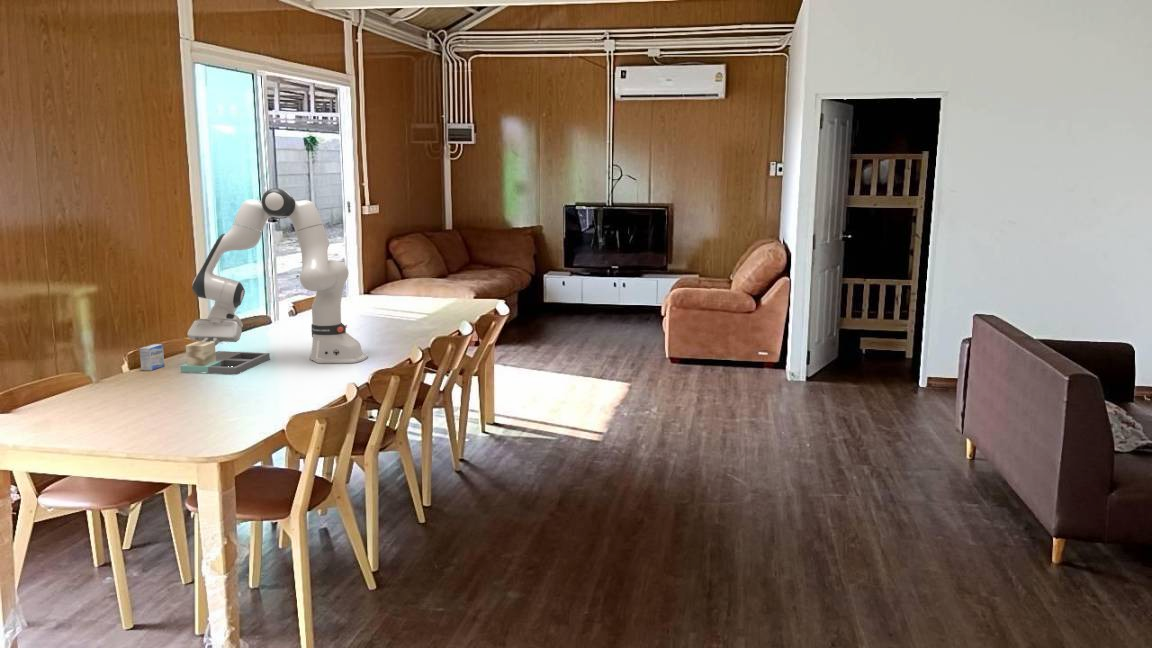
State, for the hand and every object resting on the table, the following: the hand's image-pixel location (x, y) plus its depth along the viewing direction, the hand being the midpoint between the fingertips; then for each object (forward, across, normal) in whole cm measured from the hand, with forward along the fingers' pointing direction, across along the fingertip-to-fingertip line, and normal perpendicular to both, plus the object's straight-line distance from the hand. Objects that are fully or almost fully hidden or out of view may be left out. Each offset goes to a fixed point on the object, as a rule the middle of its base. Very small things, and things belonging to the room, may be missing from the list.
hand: (207, 349), depth 339 cm
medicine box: (+9, -19, +1) cm, 22 cm away
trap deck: (+3, +6, +7) cm, 9 cm away
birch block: (+6, 0, 0) cm, 6 cm away
